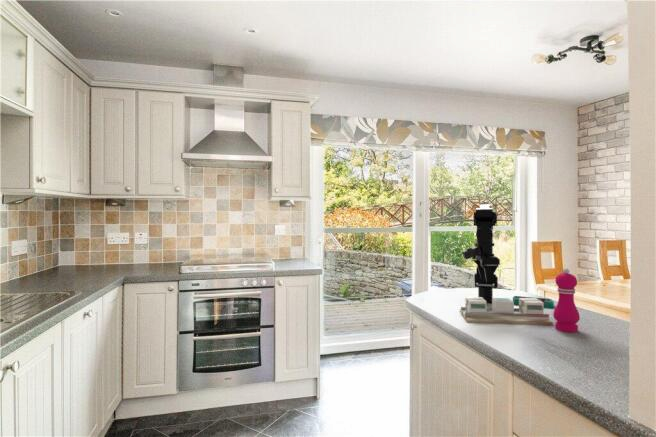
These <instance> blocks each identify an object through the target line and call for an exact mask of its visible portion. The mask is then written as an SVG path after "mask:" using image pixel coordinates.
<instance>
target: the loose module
mask: <svg viewBox="0 0 656 437" xmlns="http://www.w3.org/2000/svg"><path fill="white" fill-rule="evenodd" d="M491 308H492V311H493V312H494V313H514V308H515V305H514V301H513V299H512V298H510V297H493V298H492V303H491Z"/></svg>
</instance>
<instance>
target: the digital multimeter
mask: <svg viewBox="0 0 656 437" xmlns="http://www.w3.org/2000/svg"><path fill="white" fill-rule="evenodd" d="M519 298H533V297H529V296H518V295H515V296H513V297H512V301H514V306H519ZM536 298H537V299H538V300H540V301H542V302H543V303H544V308H545V307H547V309H553V308H554V305H555V302H554V300H553V299H551V298H546V297H545V298H542V297H536Z"/></svg>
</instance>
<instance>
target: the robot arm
mask: <svg viewBox="0 0 656 437" xmlns="http://www.w3.org/2000/svg"><path fill="white" fill-rule="evenodd" d="M496 225H498V214H497V212H496V210H494V208H493V207H492V205H491V204H489V203H488V204H478V208H475V211H474V210H473V226H474V227H476V232H475V237H476V242H475V243H474V246H471V247H468V248H466V249H462V250H461V255H462V258H463V259H465V260H469V259H472V261H473V262H474V263H475V264H476V265H477V266H476V271H475V272H474V288H478V289H477V291H478V294H477V297H482V298H483V299H484V300H486V304H488V303H489V304H490V303H491V304H492V298H494V297H493V294H494V292H493V291H494V290H493V289H497V288H498V285H499V283H498V282H499V281H498V279H499V277H498V276H497V274H496V273H495V272H496V271H497V269H498V267H499V265H501V260H500V258H498V257H497V256H495V254H494V249H493V248H494V247H495V242H494V241H493V240H494V239H493V236H494V232H493V231H494V227H495V226H496Z"/></svg>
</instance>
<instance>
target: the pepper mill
mask: <svg viewBox="0 0 656 437" xmlns="http://www.w3.org/2000/svg"><path fill="white" fill-rule="evenodd" d="M554 282H555V284H556V286H557V287H556V289H557V290H556V292H557V293H558V301H557V303H556V306H555V308H554V309H553V310H554V311H553V318H554V320H555V321H556V322H555V323H554V327H555V329H556V331H560V332H563V333H564V332H565V333H577V332H579V326H578V324H577V323H578V322H579V321H580V320H581V319H580V318H581V317H580V312H579V310H578V309H577V306H576V304H575V296H574V295H575V294H576V286H578V280H577V277H576V276H575V275H574V274H572V273H570V270H569V269H568V268H563V270H562V273H559V274H558V275H557V276H555V281H554Z"/></svg>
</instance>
